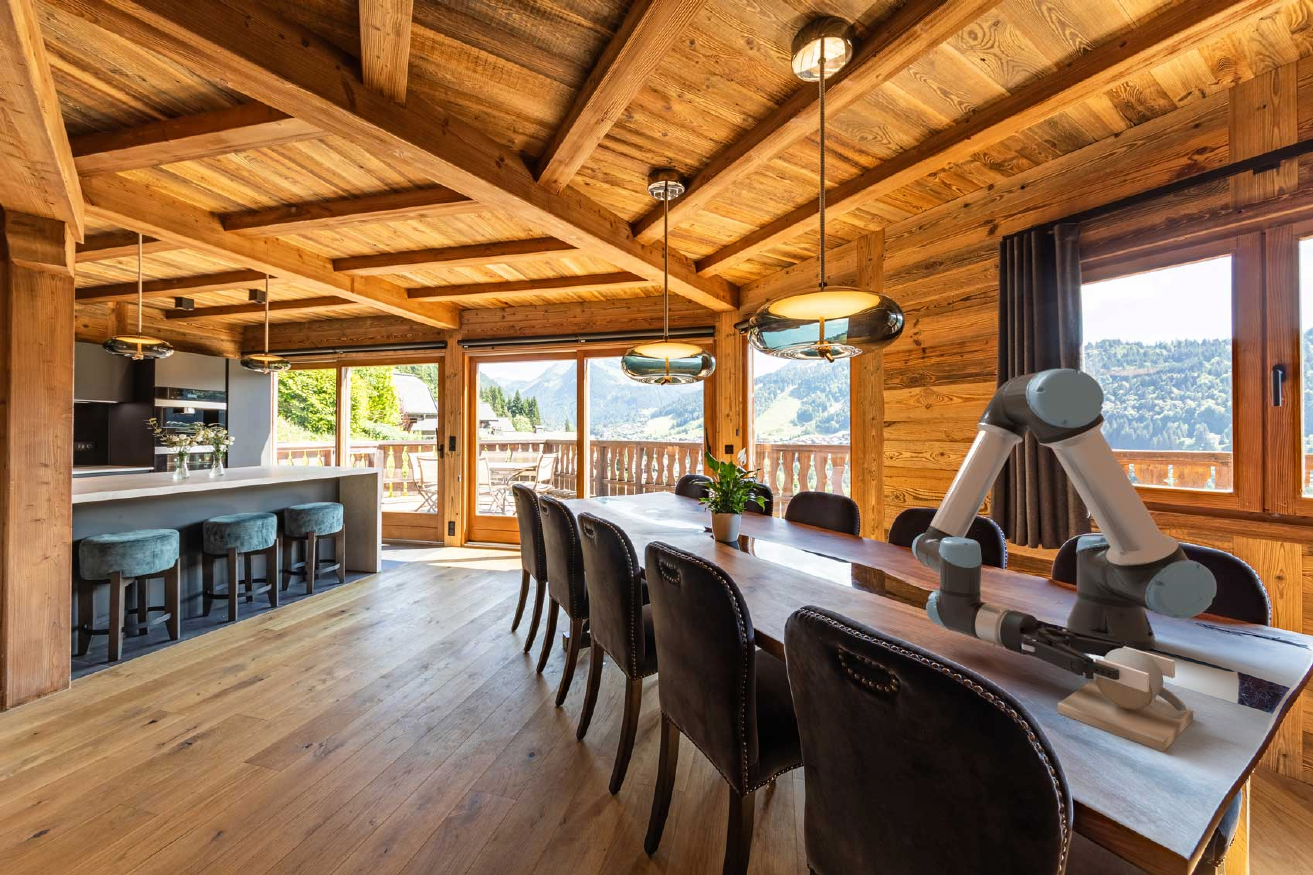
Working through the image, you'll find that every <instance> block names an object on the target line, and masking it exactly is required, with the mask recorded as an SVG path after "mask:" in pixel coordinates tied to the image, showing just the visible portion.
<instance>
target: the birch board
mask: <svg viewBox="0 0 1313 875" xmlns="http://www.w3.org/2000/svg"><path fill="white" fill-rule="evenodd" d="M1155 700H1157V701H1158V702H1160V703H1162V704H1163V705H1165V706H1167V707H1169V708H1171V709H1173V710H1176V711H1178V710H1177V709H1176V708H1175V707H1174V706H1173V705H1171V704H1170V703H1169V702H1168V701H1166V700H1162V699H1160V698H1157V697H1156V698H1155ZM1057 713H1058V714H1060V715H1063V716H1065V717H1068V718H1071V719H1074V720H1077V721H1078V722H1081V723H1084V724H1087V725H1089V726H1092V727H1095V728H1097V729H1100V730H1102V731H1105V732H1109V733H1111V734H1112V735H1113V734H1114V735H1116V736H1119V737H1121V738H1124V739H1127V740H1130V741H1132V742H1135V743H1138V744H1140V745H1143V746H1146V747H1148V748H1151V749H1153V750H1156V751H1159V752H1162V753H1164V752H1165V751H1166V749H1168V747H1169V746H1170V745H1171V744H1173V741H1174V740H1176V738H1177V737H1178V736H1179V735H1180V734H1181V733H1183V731H1184V730H1185V729H1186V727H1187V726H1189V724H1190V723H1191V722H1192V721H1193V720H1194V709H1191V708H1187V712H1186V714H1185V715H1184V716H1183V718H1181V719H1173V718H1170V717H1167V716H1165V715H1163V714H1161V713H1159V712H1157V711H1156V710H1154V709H1153V708H1151V707H1150V706H1146V707H1144V708H1141V709H1127V708H1123V707H1120V706H1118V705H1116V704H1114V703H1112V702H1111V701H1109V700H1108V699H1107V698H1106V697H1105V696H1104V695H1103V694H1102V693H1101V691H1100V690H1099V688H1098V686H1097V683H1096V678H1094V679H1091V680H1090V681H1089V682H1088V683H1086V684H1084V685H1082V686H1081V687H1080V688H1079V689H1077V690H1076V691H1074V692H1073V693H1071V694H1070V695H1069V696H1067V697H1065V698H1064V699H1063V700H1060V702H1057Z"/></svg>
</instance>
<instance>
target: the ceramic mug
mask: <svg viewBox="0 0 1313 875" xmlns="http://www.w3.org/2000/svg"><path fill="white" fill-rule="evenodd" d="M1103 659H1104V660H1107V661H1110V662H1113V663H1117V664H1120V665H1123V666H1126V667H1130V668H1133V669H1136V670H1139V671H1142V672H1146V673H1149V691H1148V692H1144V691H1141V690H1138V689H1136V688H1133V687H1130V686H1127V685H1124V684H1121V683H1118V682H1115V681H1112V680H1109V679H1106V678H1103V677H1100V676H1097V675H1095V679H1096V683H1097V686H1098V688H1099V690H1100V691H1101V693H1102V694H1103V695H1104V696H1105V697H1106V698H1107V699H1108V700H1109V701H1111V702H1112V703H1114V704H1116V705H1118V706H1120V707H1123V708H1127V709H1141V708H1144V707H1146V706H1150V707H1151V708H1153V709H1154V710H1156V711H1157V712H1159V713H1161V714H1163V715H1165V716H1167V717H1170V718H1173V719H1181V718H1183V716H1184V715H1185V714H1186V712H1187V706H1186V704H1185V703H1184V702H1183V701H1182V700H1181V699H1180V698H1178V696H1176V695H1175V694H1174V693H1172V691H1170V690H1168V689H1167V688H1165V687H1164V675H1162V672H1161V671H1160V669H1159V667H1158V666H1157V665H1156V663H1155V662H1154V661H1153V660H1151V659H1150V658H1149V657H1147V656H1146V655H1144V654H1142V653H1140V652H1138V651H1135V650H1132V649H1125V648H1119V649H1117V648H1116V649H1114V650H1112V651H1110V652H1108V653H1107V654H1106V656H1105V657H1103ZM1157 696H1159V697H1160V698H1162V699H1164V701H1166V702H1169V703H1170V704H1171V705H1173V706H1174V707H1175V708H1176V709H1177V710H1178V711H1176V710H1173V709H1171V708H1169V707H1167V706H1165V705H1163V704H1162V703H1160V702H1158V701H1157V700H1155V698H1156V699H1157Z"/></svg>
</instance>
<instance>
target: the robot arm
mask: <svg viewBox="0 0 1313 875" xmlns="http://www.w3.org/2000/svg"><path fill="white" fill-rule="evenodd" d="M1104 402H1105V396H1104V392H1103V389H1102V387H1101V385H1100V384H1099V382H1098V381H1097V380H1096V379H1095V378H1094V377H1093V376H1091V375H1090V374H1088V373H1086V372H1084V371H1082V370H1078V369H1074V368H1051V369H1045V370H1043V371H1039V372H1033V373H1029V374H1021V375H1017V376H1014V377H1012V378H1010V379H1009V380H1007V381H1006V382H1004V383H1003V384H1002V385H1001V386H1000V387H999V388H998V389H997V391H996V392H995V393H994V394H993V396H992V397H991V399H990V400H989V402H988V404H987V406H986V407H985V409H984V411H983V412H982V414H981V416H980V418H979V420H978V423H977V424H976V427H977V430H978V432H977V434H976V436H975V438H974V440H973V442H972V444H971V446H970V448H969V450H968V452H967V454H966V455H965V457H964V459H963V461H962V463H961V465H960V466H959V469H958V471H957V473H956V474H955V476H954V479H953V480H952V482H951V484H950V486H949V488H948V490H947V492H946V494H945V495H944V498H943V499H942V502H941V503H940V505H939V506H938V509H937V511H936V513H935V514H934V517H933V519H932V520H931V522H930V524H929V526H928V528H927V530H926V531H925V533H924V532H923V533H921V534H919V535H918V536H916V537H915V538H914V539H913V542H912V545H911V550H912V553H913V555H914V557H915V559H917V561H919V562H920V564H922V565H923V566H925V567H926V568H929V569H930V570H932V571H934V572H935V573H937V574H938V575H939V589H935V590H934V591H932V592H931V593H930V594H929V596H928V598H927V600H928V601H927V603H925V604H926V605H925V611H926V614H927V617H928V619H929V620H930V621H931V622H932V623H933V624H935V625H937V626H940V627H942V628H945V629H947V630H948V631H952V632H956V633H958V634H962V635H965V636H968V637H971V638H975V639H978V640H980V641H982V642H986V643H989V644H990V646H991V647H996V646H997V647H1002V648H1005V649H1006V650H1008V651H1012V652H1015V653H1018V654H1020V655H1024V656H1031V657H1034V658H1037V659H1039V660H1042V661H1044V662H1046V663H1049V664H1051V665H1053V666H1055V667H1057V668H1061V669H1062V670H1065V671H1067V672H1070V673H1072V674H1074V675H1077V676H1078V677H1079V676H1084V678H1085V679H1087V680H1093V679H1095V678H1094V677H1095V676H1096V675H1097V676H1100V677H1103V678H1106V679H1109V680H1112V681H1115V682H1118V683H1121V684H1124V685H1127V686H1130V687H1133V688H1136V689H1138V690H1141V691H1144V692H1148V691H1149V673H1146V672H1142V671H1139V670H1136V669H1133V668H1130V667H1126V666H1123V665H1120V664H1117V663H1113V662H1110V661H1107V660H1104V657H1105V656H1106V654H1107V653H1108V652H1110V651H1112V650H1114V649H1119V648H1125V649H1132V650H1135V651H1138V652H1140V653H1142V654H1144V655H1146V656H1147V657H1149V658H1150V659H1151V660H1153V661H1154V662H1155V663H1156V665H1157V666H1158V667H1159V669H1160V671H1161V672H1162V675H1163V677H1168V678H1171V679H1175V678H1176V660H1174V659H1170V658H1166V657H1164V656H1161V655H1160V656H1159V655H1156V654H1153V653H1149V652H1146V651H1148V650H1152V649H1154V648H1155V646H1156V642H1155V641H1156V636H1155V633H1154V631H1153V628H1152V626H1151V623H1150V620H1149V618H1148V615H1147V614H1146V610H1149V611H1151V612H1153V613H1154V614H1157V615H1161V616H1162V615H1163V616H1166V617H1169V618H1172V619H1189V618H1194V617H1196V616H1198V615H1200V614H1203V613H1204V612H1206V611H1207V609H1208V608H1209V607H1210V606H1212V603H1213V599H1214V598H1215V597H1216V595H1217V580H1216V578H1215V576H1214V574H1213V572H1212V571H1211V570H1210V569H1209V568H1208V567H1206V566H1205V565H1203V564H1201V563H1200V562H1198V561H1196V560H1195V561H1194V560H1190V558H1188V556H1187V555H1186V553H1185V551H1184V550H1183V548H1182V547H1181V545H1180V544H1179V541H1177V539H1176V538H1174V537H1172V536H1170V535H1167V534H1164V533H1162V532H1161V530H1160V528H1159V527H1158V525H1157V524H1156V522H1155V520H1154V518H1153V516H1152V515H1151V514H1150V511H1149V510H1148V508H1147V507H1146V505H1145V502H1143V500H1142V499H1141V496H1140V495H1139V493H1138V492H1137V490H1136V489H1135V487H1134V485H1133V483H1132V482H1131V480H1130V478H1129V476H1128V475H1127V473H1126V471H1125V470H1124V468H1123V466H1122V465H1121V462H1120V461H1119V460H1118V458H1117V456H1116V455H1115V453H1114V452H1113V449H1112V448H1111V446H1110V445H1109V442H1108V441H1107V440H1106V438H1105V436H1104V434H1103V433H1102V431H1101V428H1102V427H1103V425H1104V423H1105V418H1104V416H1103V414H1102V410H1103V406H1102V404H1103V403H1104ZM1030 430H1031V432H1032V433H1033V436H1034V437H1035V438H1036V441H1037V442H1038V443H1039V445H1042V446H1045V447H1047V448H1051V449H1052V451H1053V452H1054V454H1055V455H1056V458H1057V459H1058V461H1059V463H1060V464H1061V467H1062V468H1063V469H1064V471H1065V473H1066V475H1067V477H1068V479H1069V480H1070V482H1071V483H1072V485H1073V487H1074V488H1075V490H1076V492H1077V493H1078V495H1079V497H1080V498H1081V500H1082V502H1083V504H1084V505H1085V507H1086V509H1087V510H1088V512H1089V514H1090V515H1091V517H1092V518H1093V520H1094V522H1095V524H1096V525H1097V527H1098V529H1099V531H1100V532H1101V534H1102V535H1082V536H1080V537H1079V538H1078V540H1077V545H1076V550H1075V552H1076V599H1075V602H1074V604H1073V606H1072V608H1071V611H1070V612H1069V616H1068V617H1067V620H1066V623H1067V624H1066V625H1067V626H1066V627H1064V626H1061V625H1059V626H1057V629H1056V628H1054V627H1042V626H1041V625H1040V623H1039V620H1038V619H1037V618H1036V617H1035V616H1034V615H1032V614H1029V613H1025V612H1022V611H1017V610H1014V609H1013V610H1012V609H1010V608H1009V607H1004V606H1001V605H997V604H993V603H989V602H985V601H982V599H981V596H982V595H981V593H982V592H981V585H982V584H981V580H982V579H981V578H982V562H983V560H982V552H981V545H980V543H979V541H977V540H975V539H972V538H971V539H970V538H967V537H966V536H967V534H968V531H969V530H970V528H971V526H972V524H973V522H974V520H975V519H976V517H977V514H978V513H979V511H980V510H981V507H982V506H983V503H984V502H985V500H986V498H987V496H988V495H989V492H990V490H991V489H992V487H993V485H994V483H995V481H996V480H997V478H998V475H999V474H1000V472H1001V470H1002V469H1003V466H1004V464H1005V463H1006V461H1007V460H1008V458H1009V456H1010V454H1011V452H1012V450H1013V448H1014V446H1015V445H1017V444H1019V443H1022V442H1023V441H1024V438H1025V437H1026V435H1027V434H1028V432H1029V431H1030ZM1145 609H1146V610H1145ZM1086 654H1088V655H1092V656H1097V657H1096V658H1095V659H1094V658H1093V657H1090V656H1088V655H1086ZM1100 657H1103V658H1100Z"/></svg>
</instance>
